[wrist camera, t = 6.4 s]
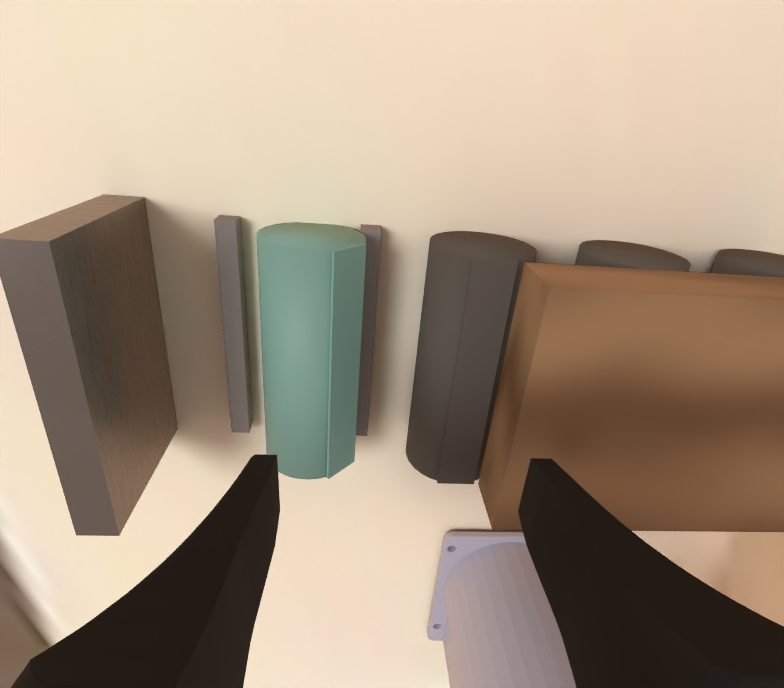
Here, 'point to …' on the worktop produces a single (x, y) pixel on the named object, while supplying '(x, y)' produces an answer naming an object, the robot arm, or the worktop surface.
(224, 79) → the worktop surface
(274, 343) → the roller
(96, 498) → the bar
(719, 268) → the roller bed
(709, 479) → the slab
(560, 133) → the worktop surface
